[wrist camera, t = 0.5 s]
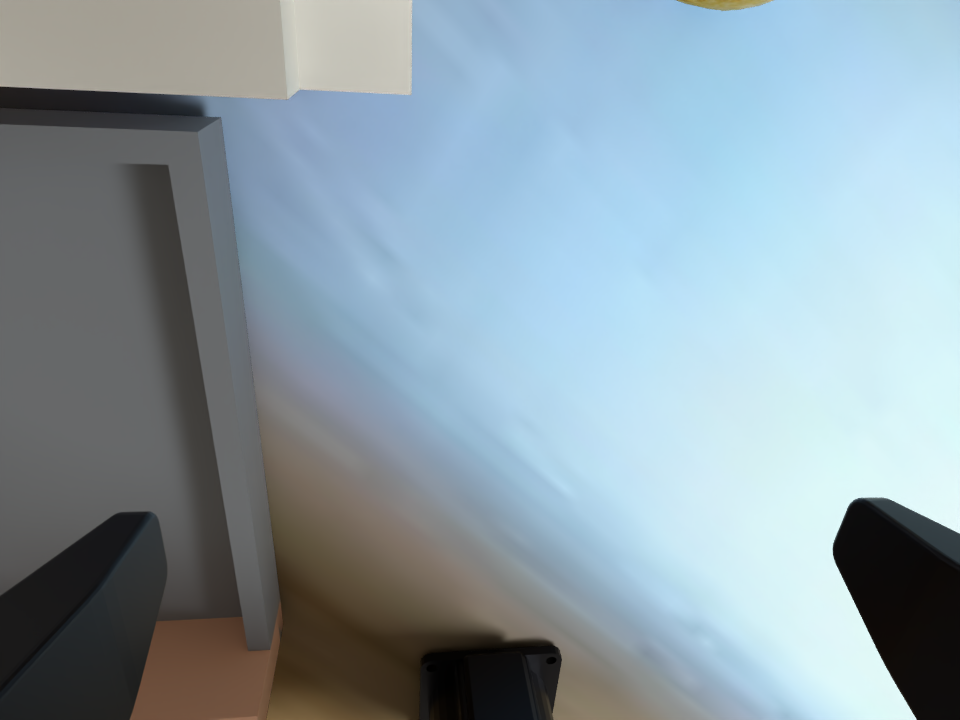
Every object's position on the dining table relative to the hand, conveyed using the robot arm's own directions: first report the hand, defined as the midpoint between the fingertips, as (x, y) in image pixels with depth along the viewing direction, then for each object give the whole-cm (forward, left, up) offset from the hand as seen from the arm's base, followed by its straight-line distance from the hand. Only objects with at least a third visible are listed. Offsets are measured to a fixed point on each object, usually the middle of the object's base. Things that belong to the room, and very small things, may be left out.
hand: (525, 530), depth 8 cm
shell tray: (-7, +12, -14) cm, 20 cm away
